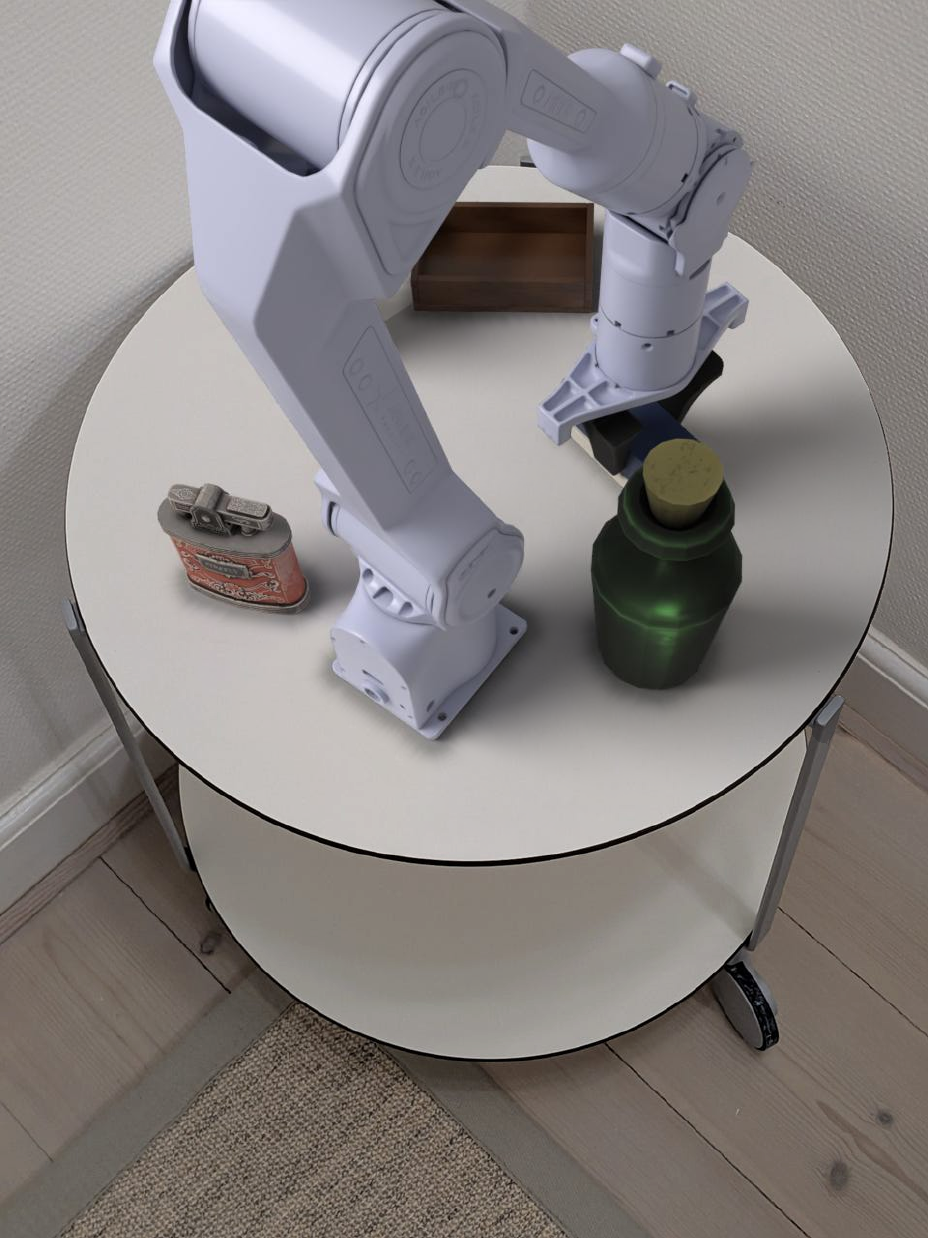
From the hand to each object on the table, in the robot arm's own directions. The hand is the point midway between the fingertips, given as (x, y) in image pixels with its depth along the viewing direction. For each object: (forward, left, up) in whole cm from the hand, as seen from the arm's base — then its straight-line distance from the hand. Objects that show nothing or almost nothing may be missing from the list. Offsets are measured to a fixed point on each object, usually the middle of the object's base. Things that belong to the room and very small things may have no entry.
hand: (634, 445), depth 80 cm
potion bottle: (-11, -8, -2) cm, 14 cm away
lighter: (-22, +14, -2) cm, 26 cm away
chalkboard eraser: (0, 0, -1) cm, 1 cm away
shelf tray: (+8, +17, -1) cm, 19 cm away
